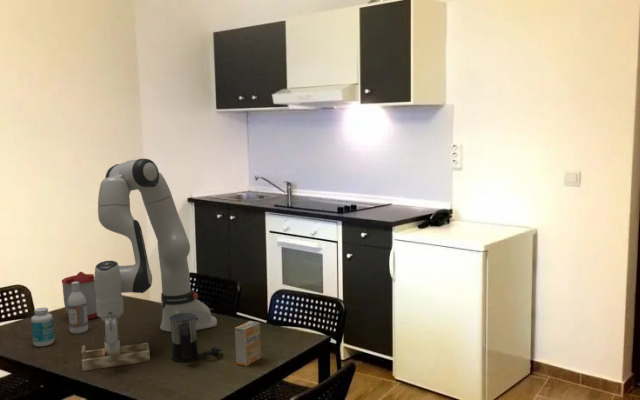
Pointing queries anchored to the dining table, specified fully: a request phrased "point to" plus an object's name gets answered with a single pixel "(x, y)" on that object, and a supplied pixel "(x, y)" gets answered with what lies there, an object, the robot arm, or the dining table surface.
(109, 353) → the cream jar
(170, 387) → the dining table surface
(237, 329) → the supplement box
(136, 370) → the dining table surface
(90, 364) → the wooden tray
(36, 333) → the pill bottle
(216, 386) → the dining table surface
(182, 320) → the milk frother
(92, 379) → the dining table surface
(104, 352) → the block
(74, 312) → the bath foam
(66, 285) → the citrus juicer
